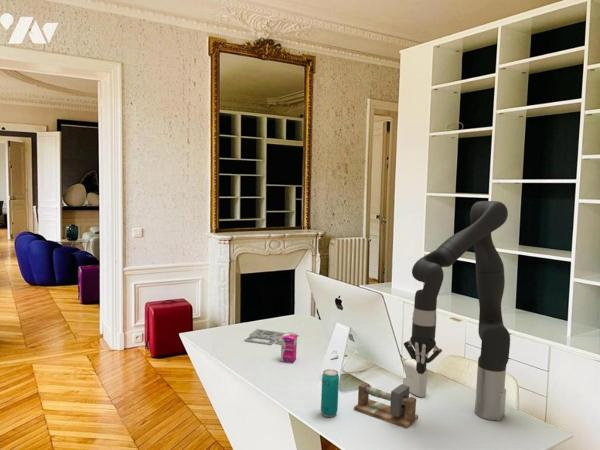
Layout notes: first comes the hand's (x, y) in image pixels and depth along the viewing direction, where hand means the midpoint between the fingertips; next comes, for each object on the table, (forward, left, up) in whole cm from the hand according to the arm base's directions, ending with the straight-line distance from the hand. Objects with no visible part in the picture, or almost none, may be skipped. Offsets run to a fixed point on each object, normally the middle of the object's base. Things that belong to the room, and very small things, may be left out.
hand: (420, 373), depth 164 cm
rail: (+12, 0, -18) cm, 21 cm away
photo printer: (+12, -24, -18) cm, 32 cm away
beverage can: (+27, +13, -18) cm, 35 cm away
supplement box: (+69, -18, -18) cm, 73 cm away
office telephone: (+95, -37, -19) cm, 104 cm away
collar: (+7, 0, -15) cm, 17 cm away
